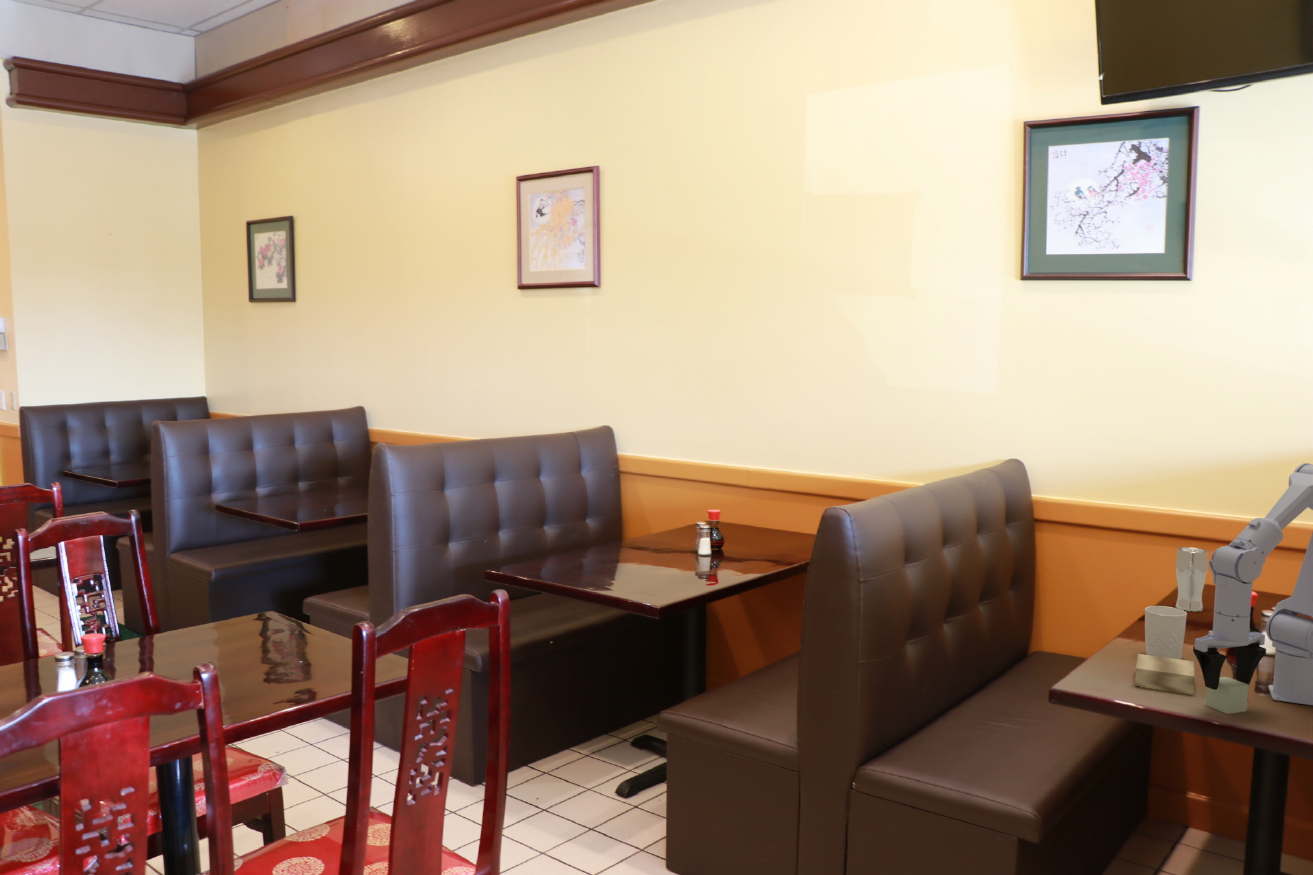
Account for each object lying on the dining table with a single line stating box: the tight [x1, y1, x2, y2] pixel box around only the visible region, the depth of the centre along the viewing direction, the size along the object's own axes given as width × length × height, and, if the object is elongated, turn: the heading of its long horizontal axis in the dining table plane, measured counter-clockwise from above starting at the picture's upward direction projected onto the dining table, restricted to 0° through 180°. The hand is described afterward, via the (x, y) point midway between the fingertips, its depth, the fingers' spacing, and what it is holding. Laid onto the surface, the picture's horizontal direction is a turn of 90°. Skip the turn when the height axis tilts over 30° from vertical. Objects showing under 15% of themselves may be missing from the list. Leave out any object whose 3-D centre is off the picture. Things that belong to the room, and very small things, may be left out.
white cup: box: [1144, 605, 1188, 660], centre depth 210 cm, size 8×8×10 cm
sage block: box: [1205, 676, 1249, 715], centre depth 181 cm, size 5×5×5 cm
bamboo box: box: [1134, 653, 1196, 696], centre depth 194 cm, size 10×10×4 cm
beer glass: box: [1175, 546, 1209, 613], centre depth 248 cm, size 7×7×15 cm
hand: (1227, 685), depth 181 cm, fingers open, 7 cm apart
